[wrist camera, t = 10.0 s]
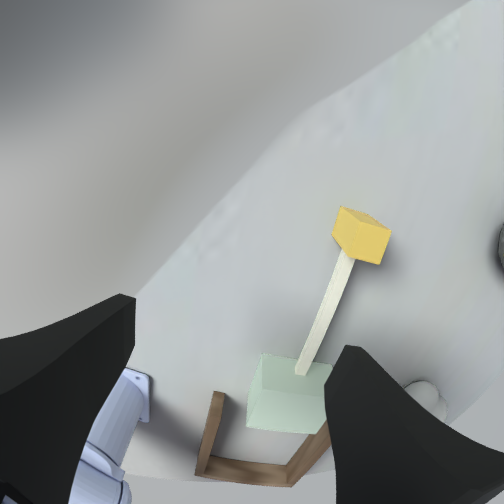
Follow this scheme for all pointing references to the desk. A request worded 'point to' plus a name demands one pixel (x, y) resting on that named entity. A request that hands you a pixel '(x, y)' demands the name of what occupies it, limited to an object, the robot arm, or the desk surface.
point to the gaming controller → (501, 246)
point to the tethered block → (312, 341)
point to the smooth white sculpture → (428, 398)
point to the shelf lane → (250, 470)
